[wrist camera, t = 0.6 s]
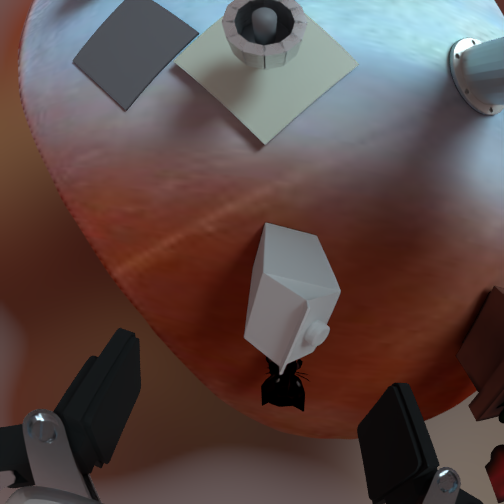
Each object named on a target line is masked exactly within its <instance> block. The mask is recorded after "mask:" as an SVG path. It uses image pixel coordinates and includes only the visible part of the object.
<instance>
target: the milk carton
mask: <svg viewBox="0 0 504 504" xmlns="http://www.w3.org/2000/svg"><path fill="white" fill-rule="evenodd" d="M340 292H341V290H340V287H339V285H338V283H337V280H336V278H335V276H334V273H333V271H332V269H331V266H330V264H329V262H328V259H327V257H326V255H325V253H324V250H323V248H322V246H321V244H320V242H319V239H318V237H317V236H316V235H312V234H309V233H305V232H301V231H297V230H293V229H290V228H286V227H282V226H278V225H274V224H270V223H265V225H264V228H263V232H262V236H261V240H260V243H259V247H258V251H257V254H256V258H255V262H254V265H253V270H252V278H251V286H250V293H249V301H248V309H247V317H246V325H245V332H244V338H245V339H246V340H247V341H248V342H250V343H251V344H252V345H253V346H255V347H256V348H257V349H258V350H260V351H261V352H262V353H263V354H264V355H266V356H267V357H268V358H270V359H271V360H272V361H273V362H275V363H276V364H277V365H278V366H279V374H280V375H282V374H283V371H284V369H285V367H286V365H287V364H288V363H290V362H293V361H295V360H297V359H299V358H301V357H304V356H306V355H308V354H310V353H312V352H313V351H314V350H315V348H316V346H318V345H320V344H321V343H322V342H323V341H324V340H325V339H326V338H327V336H328V334H329V331H330V328H329V326H327V323H328V320H329V318H330V316H331V314H332V312H333V309H334V307H335V305H336V302H337V300H338V298H339V295H340Z"/></svg>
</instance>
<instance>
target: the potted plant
mask: <svg viewBox="0 0 504 504" xmlns="http://www.w3.org/2000/svg"><path fill="white" fill-rule="evenodd" d="M462 343H463V345H462V347H461V348H460V350H459V351H458V353H457V355H456V357H457V359H458V360H459V362H460V363H461V365H462V366H463V368H464V370H465V371H466V373H467V374H468V376H469V378H470V379H471V381H472V382H473V384H474V386H475V387H476V389H477V391H478V392H479V393H478V394H477V396H476V397H475V398H474V399H473V401H472V402H471V403H470V404H469V408H470V410H471V412H472V413H473V415H474V417H475V419H476V421H481V420H486V419H490V418H494V417H498V416H499V421H500V422H501V423H504V288H500V287H497V286H494V287H493V289H492V291H491V292H489V294H488V296H487V299H486V301H485V303H484V305H483V307H482V308H481V310H480V312H479V314H478V316H477V318H476V320H475V322H474V323H473V325H472V327H471V329H470V331H469V332H468V334H467V336H466V337H465V339H464V341H463V342H462ZM485 468H486V471H487V474H488V476H489V479H490V481H491V484H492V487H493V490H494V492H495V495H496V498H497V501H498V503H501V502H504V445H498V446H496V447H495V448H494V449H493V451H492V452H491V460H490V462H489V463H488V464H487V465H486V466H485Z"/></svg>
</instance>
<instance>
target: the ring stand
mask: <svg viewBox="0 0 504 504" xmlns="http://www.w3.org/2000/svg"><path fill="white" fill-rule="evenodd" d="M304 14H305V13H304ZM305 17H306V20H307V27H306V30H305V33H304V36H303V39H302V42H301V45H300V48H299V51H298V54H297V56H296V57H294V58H293V59H292V60H291V61H289V62H288V63H287V64H286V65H285V66H284V65H283V67H278V68H273V69H268V70H266V69H265V70H263V69H259V68H254V67H250V66H247V65H245V64H244V63H243V62H242V61H241V60H239V59H238V58H237V57H236V56H235V55H234V54H233V52H232V50H231V47H230V45H229V43H228V41H227V39H226V35H225V32H224V29H223V26H222V19H223V17H221V18H220V19H219V20H218V21H217V22H215V23H214V24H213V25H212V26H211V27H209V28H208V29H207V30H206V31H205V32H204V33H203V34H202V35H200V36H199V37H198V38H197V39H196V40H195V41H194V42H193V43H192V44H191V45H190V46H188V47H187V48H186V49H185V50H184V51H183V52H182V53H181V54H180V55H179V56H178V57H177V58H176V59H175V60H174V61H173V62H175V63H176V64H177V65H178V66H180V67H181V68H182V69H183V70H184V71H185V72H187V73H188V74H189V75H190V76H191V77H193V78H194V79H195V80H196V81H197V82H198V83H199V84H201V85H202V86H203V87H204V88H205V89H206V90H207V91H209V92H210V93H211V94H212V95H213V96H214V97H215V98H216V99H217V100H219V101H220V102H221V103H222V104H223V105H224V106H225V107H226V108H227V109H228V110H229V111H230V112H232V113H233V114H234V115H235V116H236V117H237V118H238V119H239V120H240V121H241V122H242V123H243V124H244V125H245V126H246V127H247V128H248V129H249V130H250V131H251V132H252V133H253V134H254V135H255V136H256V137H257V138H259V139H260V140H261V141H262V142H263V143H264V144H265V145H266V144H267V143H268V142H269V141H270V140H271V139H272V138H273V137H275V136H276V135H277V134H278V133H279V132H280V131H281V130H282V129H283V128H284V127H286V126H287V125H288V124H289V123H290V122H291V121H292V120H293V119H294V118H296V117H297V116H298V115H299V114H300V113H301V112H302V111H304V110H305V109H306V108H307V107H308V106H309V105H310V104H312V103H313V102H314V101H315V100H316V99H317V98H319V97H320V96H321V95H322V94H323V93H325V92H326V91H327V90H328V89H329V88H331V87H332V86H333V85H334V84H335V83H337V82H338V81H339V80H340V79H342V78H343V77H344V76H345V75H346V74H348V73H349V72H350V71H351V70H353V69H354V68H355V67H356V66H358V65H359V64H358V63H357V62H356V61H355V60H354V59H353V57H352V56H351V55H350V54H349V53H348V52H347V51H346V50H345V49H344V48H343V47H342V46H341V45H340V44H338V43H337V42H336V41H335V40H334V39H333V38H332V37H331V36H330V35H329V34H328V33H327V32H326V31H325V30H323V29H322V28H321V27H320V26H319V25H318V24H317V23H315V22H314V21H313V20H312V19H311V18H310V17H308V16H307V15H306V14H305ZM241 36H242V37H243V38H244V39H246V40H247V41H248V42H251V43H255V44H260V45H264V46H265V45H269V44H274V43H280V42H281V41H282V40H284V39H285V38H286V37H288V36H289V33H288V30H287V29H286V28H285V27H284V26H283V25H281V24H280V23H279V22H277V15H276V13H275V12H274V11H273V10H272V9H269V8H259V9H257V10H255V11H254V12H253V14H252V22H251V23H250V24H249V25H248V26H246V27H245V28H244V29H243V31H242V34H241Z"/></svg>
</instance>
